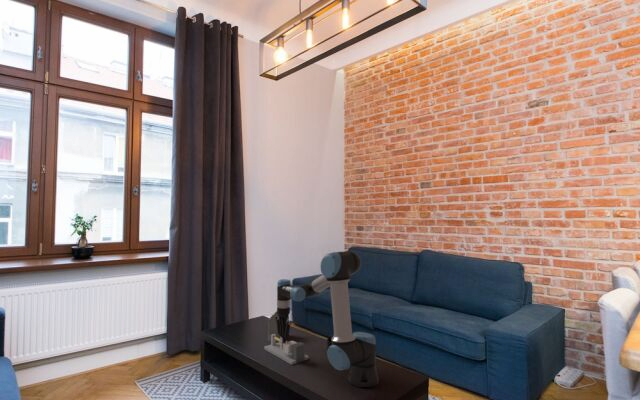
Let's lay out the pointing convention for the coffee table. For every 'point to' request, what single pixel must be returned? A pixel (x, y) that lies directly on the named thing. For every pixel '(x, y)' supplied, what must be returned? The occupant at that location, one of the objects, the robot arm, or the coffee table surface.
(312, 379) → the coffee table surface
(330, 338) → the mug
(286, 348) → the sleeve
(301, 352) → the light grey blocky piece
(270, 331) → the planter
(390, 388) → the coffee table surface
